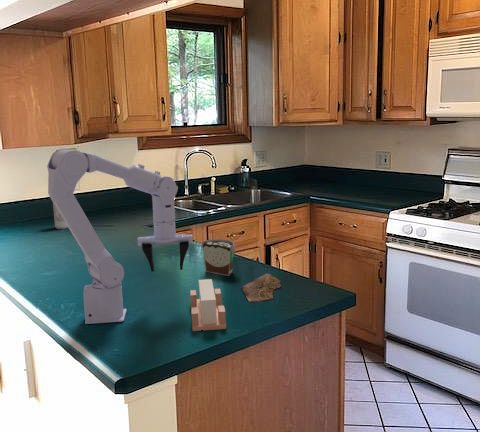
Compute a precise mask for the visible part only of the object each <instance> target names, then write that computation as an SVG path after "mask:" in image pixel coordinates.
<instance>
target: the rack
mask: <svg viewBox="0 0 480 432" xmlns="http://www.w3.org/2000/svg"><path fill="white" fill-rule="evenodd" d="M189 292H190V309H191V312H190V313H191V323H192V325H191V326H192V332H200V331H201V330H203V331H212V330H213V331H214V330H215V331H216V330H225V329H227V320H226V308H225V305H222V292H221V288H214V293H215V298H216V317H217V323H214V324H202V318H201V309H200V298H197V290H196V289H193V290H191V289H190V291H189Z"/></svg>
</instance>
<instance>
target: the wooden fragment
mask: <svg viewBox="0 0 480 432" xmlns="http://www.w3.org/2000/svg"><path fill="white" fill-rule="evenodd" d="M281 283H282V281H281V280H280V279H279V278H277V277H276V276H273V275H272V274H269V273H265V274H263V275H261V276H259V277H257V278H255V279H252V280H250V281H249V282H247V283H246V284H244V285H242V287H241V288H240V289H241V290H242V292H243V294H244V296H245V297H246V299H247V301H248V303H260V302H265V301H267V302H268V301H270V300H274V293H275V290H278V289H279V288H281V287H282V285H281Z"/></svg>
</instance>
